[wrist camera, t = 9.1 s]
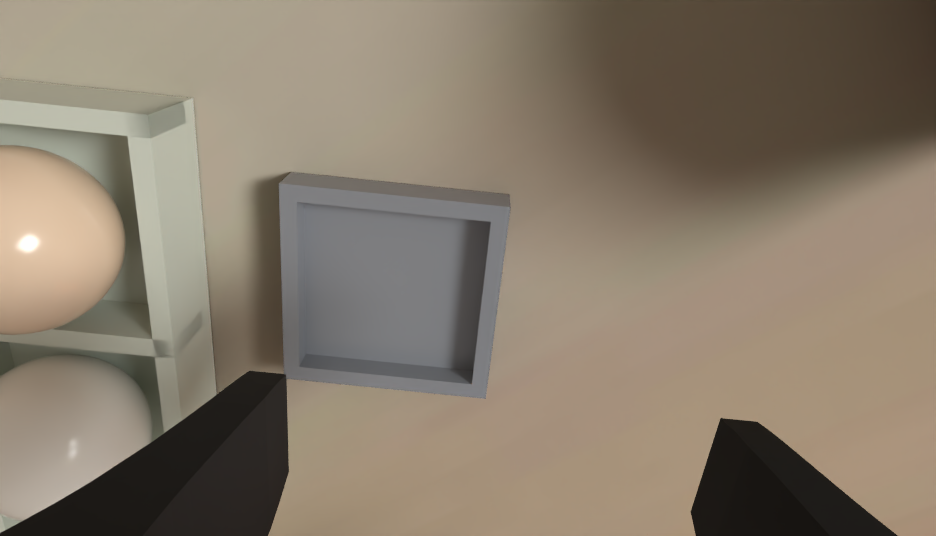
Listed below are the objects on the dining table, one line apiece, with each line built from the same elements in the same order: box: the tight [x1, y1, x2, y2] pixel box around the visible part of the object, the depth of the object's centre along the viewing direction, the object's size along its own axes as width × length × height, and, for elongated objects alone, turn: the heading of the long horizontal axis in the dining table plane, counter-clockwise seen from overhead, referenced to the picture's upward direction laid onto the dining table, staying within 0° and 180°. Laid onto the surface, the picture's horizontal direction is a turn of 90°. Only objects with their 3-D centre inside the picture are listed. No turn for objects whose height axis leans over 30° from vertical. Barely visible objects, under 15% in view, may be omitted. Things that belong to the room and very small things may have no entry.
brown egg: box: [0, 145, 125, 335], centre depth 17 cm, size 5×5×5 cm
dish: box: [279, 172, 510, 399], centre depth 20 cm, size 7×7×1 cm
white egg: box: [0, 354, 153, 521], centre depth 19 cm, size 5×5×5 cm
